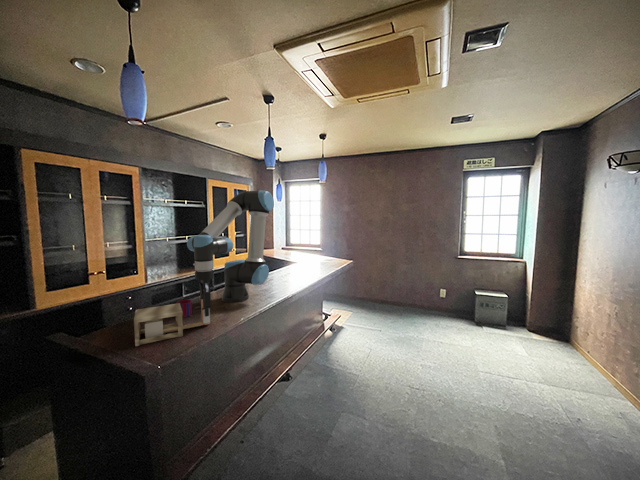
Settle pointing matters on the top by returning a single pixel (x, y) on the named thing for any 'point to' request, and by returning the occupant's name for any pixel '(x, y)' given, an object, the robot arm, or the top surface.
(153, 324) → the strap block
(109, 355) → the top surface
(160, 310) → the wooden holder
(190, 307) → the mug
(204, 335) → the top surface
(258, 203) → the robot arm
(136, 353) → the top surface
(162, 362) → the top surface
